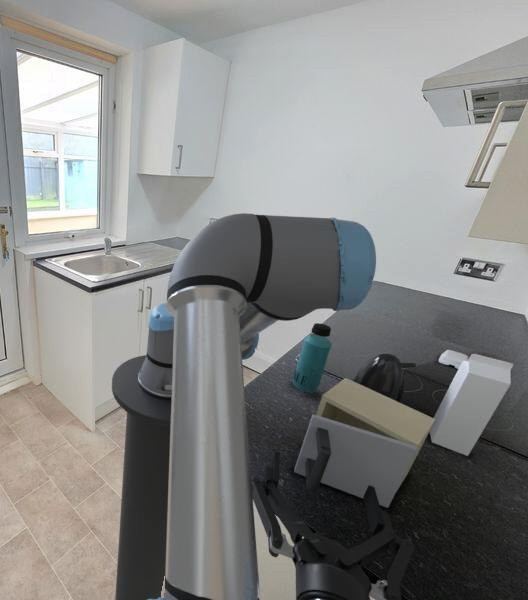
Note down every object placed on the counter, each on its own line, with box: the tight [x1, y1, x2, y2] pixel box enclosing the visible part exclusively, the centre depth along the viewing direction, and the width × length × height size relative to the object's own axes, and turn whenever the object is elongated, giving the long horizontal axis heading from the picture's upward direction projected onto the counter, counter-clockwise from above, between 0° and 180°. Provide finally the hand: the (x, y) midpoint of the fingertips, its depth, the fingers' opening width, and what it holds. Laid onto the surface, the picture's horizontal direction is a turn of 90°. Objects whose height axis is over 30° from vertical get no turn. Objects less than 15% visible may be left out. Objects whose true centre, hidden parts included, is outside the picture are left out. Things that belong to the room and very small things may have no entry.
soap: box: [438, 349, 469, 370], centre depth 104 cm, size 9×7×3 cm
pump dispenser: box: [352, 352, 417, 403], centre depth 80 cm, size 10×10×15 cm
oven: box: [315, 377, 436, 491], centre depth 62 cm, size 11×15×14 cm
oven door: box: [294, 413, 417, 509], centre depth 53 cm, size 7×15×14 cm, turn 64°
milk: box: [429, 353, 514, 457], centre depth 67 cm, size 6×6×22 cm
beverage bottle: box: [291, 322, 332, 393], centre depth 83 cm, size 6×7×20 cm
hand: (319, 473), depth 52 cm, fingers open, 13 cm apart
